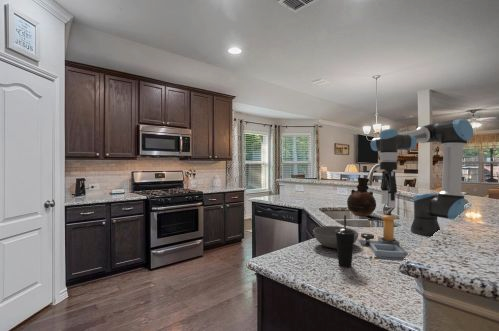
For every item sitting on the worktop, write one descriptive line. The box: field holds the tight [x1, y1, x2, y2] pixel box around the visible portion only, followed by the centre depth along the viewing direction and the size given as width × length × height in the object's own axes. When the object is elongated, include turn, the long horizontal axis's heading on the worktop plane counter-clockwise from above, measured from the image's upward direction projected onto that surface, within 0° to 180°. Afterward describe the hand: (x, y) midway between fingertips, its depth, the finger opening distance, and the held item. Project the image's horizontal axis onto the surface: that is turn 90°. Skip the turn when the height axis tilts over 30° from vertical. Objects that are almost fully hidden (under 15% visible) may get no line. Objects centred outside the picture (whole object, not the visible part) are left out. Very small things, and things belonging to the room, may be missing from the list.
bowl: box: [312, 225, 359, 250], centre depth 137 cm, size 21×21×8 cm
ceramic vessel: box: [346, 177, 377, 217], centre depth 218 cm, size 21×18×30 cm
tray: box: [369, 243, 405, 262], centre depth 123 cm, size 11×11×4 cm
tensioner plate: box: [357, 232, 404, 250], centre depth 136 cm, size 18×12×6 cm, turn 77°
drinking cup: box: [335, 215, 356, 268], centre depth 112 cm, size 8×8×20 cm
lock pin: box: [381, 214, 396, 241], centre depth 135 cm, size 6×6×14 cm
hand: (388, 205), depth 135 cm, fingers open, 13 cm apart
